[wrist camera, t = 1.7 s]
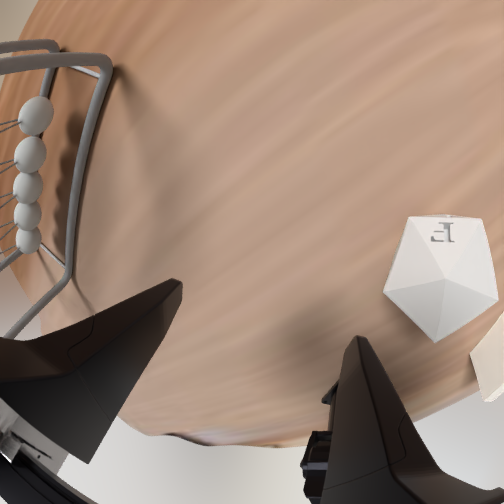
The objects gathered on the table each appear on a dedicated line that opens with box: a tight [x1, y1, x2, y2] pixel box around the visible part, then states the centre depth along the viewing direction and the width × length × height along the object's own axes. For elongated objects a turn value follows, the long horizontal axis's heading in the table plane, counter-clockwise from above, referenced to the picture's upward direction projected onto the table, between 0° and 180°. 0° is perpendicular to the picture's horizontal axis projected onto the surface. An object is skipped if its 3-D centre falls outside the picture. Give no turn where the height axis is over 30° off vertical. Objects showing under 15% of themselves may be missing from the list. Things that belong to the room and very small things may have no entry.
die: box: [383, 214, 498, 343], centre depth 15 cm, size 8×9×10 cm
